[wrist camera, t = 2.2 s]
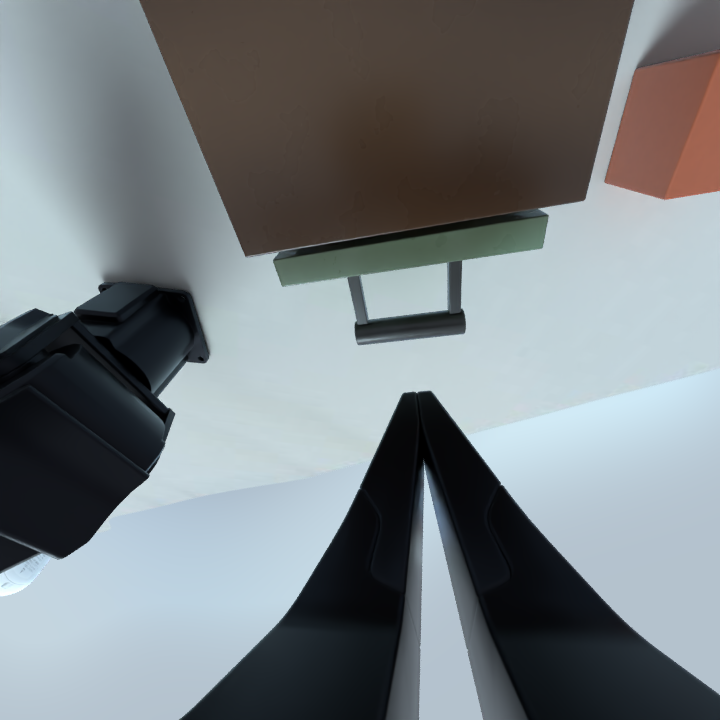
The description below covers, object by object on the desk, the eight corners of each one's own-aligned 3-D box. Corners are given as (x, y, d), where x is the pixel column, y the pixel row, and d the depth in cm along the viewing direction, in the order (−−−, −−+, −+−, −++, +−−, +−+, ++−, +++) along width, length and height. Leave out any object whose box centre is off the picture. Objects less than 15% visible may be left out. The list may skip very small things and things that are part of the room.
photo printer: (44, 460, 39) (-71, 574, 29) (80, 468, 39) (-21, 582, 29) (68, 497, 45) (-20, 600, 35) (98, 503, 45) (20, 606, 36)
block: (701, 165, 15) (795, 179, 12) (603, 183, 16) (663, 200, 13) (755, 41, 13) (898, 10, 9) (634, 68, 13) (722, 50, 10)
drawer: (486, 296, 20) (522, 359, 14) (332, 316, 21) (315, 378, 16) (537, -323, 8) (788, -1058, 3) (199, -175, 10) (-1, -491, 5)
